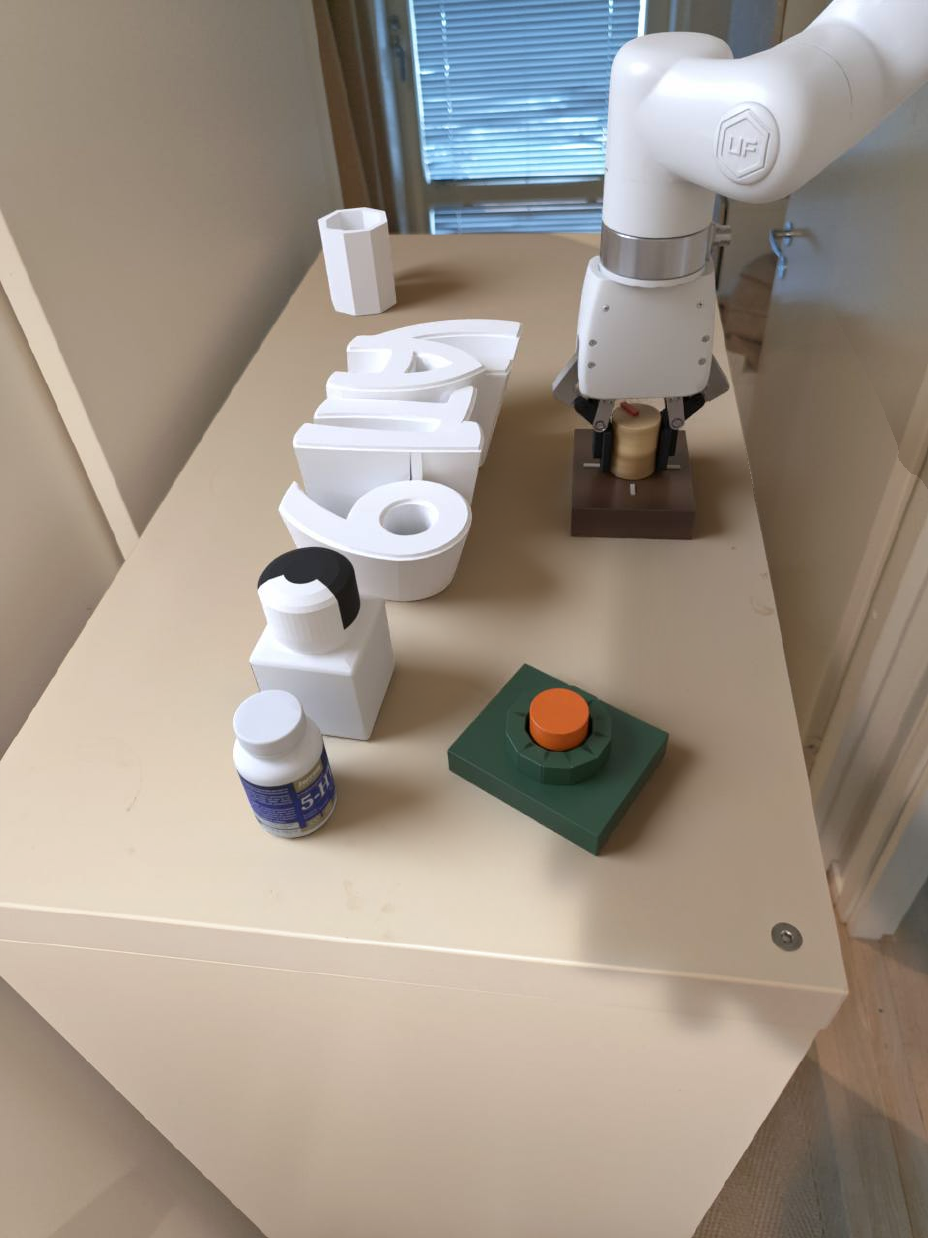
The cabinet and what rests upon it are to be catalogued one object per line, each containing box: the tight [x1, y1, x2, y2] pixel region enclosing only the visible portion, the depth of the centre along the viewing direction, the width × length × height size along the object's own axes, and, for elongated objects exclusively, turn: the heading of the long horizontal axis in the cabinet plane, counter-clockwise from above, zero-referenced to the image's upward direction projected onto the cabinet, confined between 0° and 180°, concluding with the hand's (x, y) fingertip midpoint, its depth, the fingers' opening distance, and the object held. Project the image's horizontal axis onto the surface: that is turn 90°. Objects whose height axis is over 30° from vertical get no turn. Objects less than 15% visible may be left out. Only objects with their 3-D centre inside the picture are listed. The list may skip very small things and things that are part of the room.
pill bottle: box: [232, 690, 338, 839], centre depth 51 cm, size 5×5×9 cm
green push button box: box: [446, 663, 670, 857], centre depth 54 cm, size 11×9×4 cm
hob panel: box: [569, 428, 697, 540], centre depth 74 cm, size 12×10×3 cm
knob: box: [610, 400, 661, 480], centre depth 71 cm, size 4×4×5 cm
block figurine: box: [249, 547, 396, 741], centre depth 56 cm, size 7×7×12 cm
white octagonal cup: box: [317, 206, 397, 317], centre depth 104 cm, size 12×9×10 cm
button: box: [530, 688, 589, 751], centre depth 52 cm, size 4×4×2 cm
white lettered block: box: [278, 318, 524, 602], centre depth 73 cm, size 35×16×11 cm, turn 167°
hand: (632, 460), depth 73 cm, fingers closed on knob, 4 cm apart
